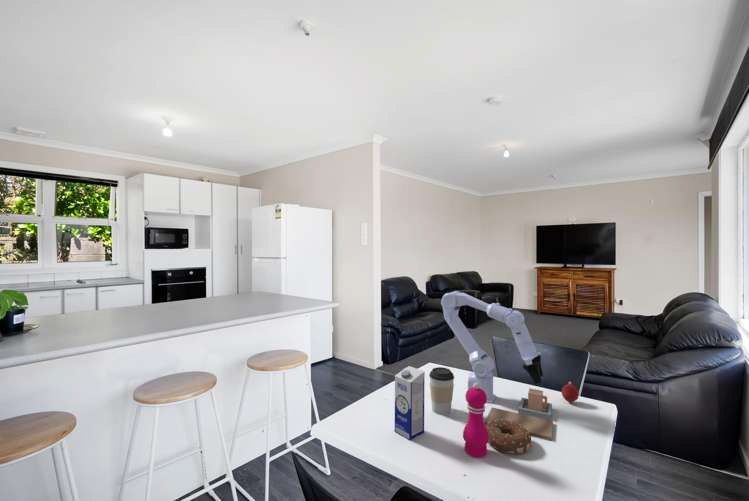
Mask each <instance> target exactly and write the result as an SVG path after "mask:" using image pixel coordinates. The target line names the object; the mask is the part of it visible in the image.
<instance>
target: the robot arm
mask: <svg viewBox="0 0 749 501" xmlns="http://www.w3.org/2000/svg"><path fill="white" fill-rule="evenodd" d="M440 305H441V307H442V312H443V319H444V320H445V322H446V323H447V325H448V326H449V327H450V329H451V331H452V332H453V333H454V335H455V337H456V338H457V340H458V341H459V342H460V344H461V346H462V347H463V349H464V350H465V352H466V353H467V355H468V356H469V363H470V365H471V367H472V371H473V372H470V373H469V374H468V378H467V390H468V389H470V388H473V384H474V383H478V384H479V388H480V389H482V390H483V391H484V392H485V393H486V396H487V402H486V403H490V404H492V403H493V401H494V399H495V398H496V394H495V393H494V373H493V370H494V369H495V367H496V366H495V365H496V364H495V361H494V359H493V357H491V356H489V355H488V354H487V352H486V351H485V350H483V349H481V347H480V346H479V345H478V344H477V342H476V340H475V339H474V337H473V336H472V334H471V333H470V331H469V330H468V328H467V327H466V326H465V324H464V323H463V321H462V319H461V318H460V317H459V311H460V308H461V307H463V306H469V307H471V308H473V309H477V310H480V311H483V312H485V313H486V314H487V317H489V318H491V319H493V320H496V321H499V322H501V323H504V324H506V326H507V327H508V328H509V329H510V331H511V334H512V337H513V339H514V341H515V345H516V347H517V349H518V351H519V354H520V357H521V359H522V360H523V361H524V363H523V364H522V365H521V366H522V368H523V369H524V370H525V371H526V372H527V373H528V375H529V376H530V378H531V379H532V381H533V382H534V384H540V383H542V377H543V376H544V374H543V368H542V360H541V357H542V352H541V351H537V348H536V347H535V344H534V341H533V339H532V336H531V334H530V331H529V329H528V328H527V325H526V323H525V316H524V314H523V312H521V311H519V310H517V309H514V310H513V308H511V307H509V308H508V307H505V306H502V305H501V303H499V302H496V303H495V302H493V303H491V304H490V303H487V302H485V301H483V300H480V299H478V298H475V297H474V296H472V295H469V294H467V293H466V292H461V291H459V290H454V291H452V292H447V293H445V294H443V295H442V298H441V301H440Z"/></svg>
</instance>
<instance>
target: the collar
mask: <svg viewBox="0 0 749 501" xmlns="http://www.w3.org/2000/svg"><path fill="white" fill-rule="evenodd" d="M543 404H544V405H545V401H543ZM525 405H528V397H527V398H526V397H521V399H520V403H519V405H518V412H517V413H520V414H524V415H529V416H533V417H538V418H542V419H547V420H551V421H552V413H553V411H552V410H553V403H551V402H547V408H546V409H547V412H545V411H543V412H540V411H535V410H530V409H528V408H524V407H525Z"/></svg>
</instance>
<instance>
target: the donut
mask: <svg viewBox="0 0 749 501" xmlns="http://www.w3.org/2000/svg"><path fill="white" fill-rule="evenodd" d="M485 426H486V429H487V432H488V436H489V441H488V443H487V444H489V445H491V447H492V448H494V449H496V450H498V451H500V452H504V453H505V454H506V453H507V454H517V455H519V454H522V453H526V452H527V451H528V450H530V448H531V447H532V445H533V444H532V442H533V441H532V436H531V435H530V434H529V432H528V431H527V430H526V428H524V427H523V426H522V425H521V424H518V423H516V422H514V421H513V422H511V421H507V420H503V419H498V420H493V421H489V423H487V425H486V424H485Z"/></svg>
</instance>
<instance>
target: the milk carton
mask: <svg viewBox="0 0 749 501" xmlns="http://www.w3.org/2000/svg"><path fill="white" fill-rule="evenodd" d="M425 372H426V371H424V370H422V369H420V368H416V367H414V366H410V365H408V366H407V367H404V368H403V369H402V370H401V371H399V372H398V373H396V374H395V375H394V432H395V433H396V434H398V435H399V436H402V437H403V438H405V439H407V440H408V441H411V440H413V439H415V438H417V437H420V436H421V435H423V434H425V384H426V383H425V378H426V377H425V374H426V373H425Z"/></svg>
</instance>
